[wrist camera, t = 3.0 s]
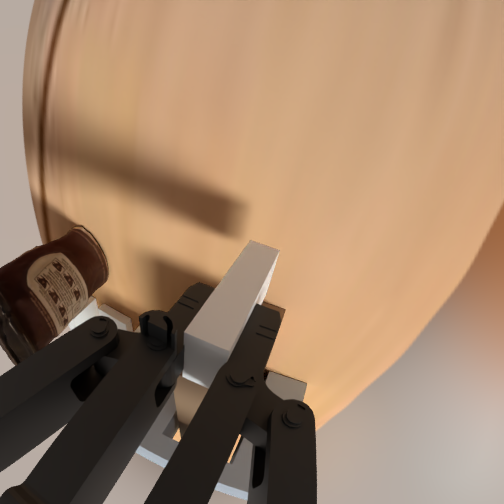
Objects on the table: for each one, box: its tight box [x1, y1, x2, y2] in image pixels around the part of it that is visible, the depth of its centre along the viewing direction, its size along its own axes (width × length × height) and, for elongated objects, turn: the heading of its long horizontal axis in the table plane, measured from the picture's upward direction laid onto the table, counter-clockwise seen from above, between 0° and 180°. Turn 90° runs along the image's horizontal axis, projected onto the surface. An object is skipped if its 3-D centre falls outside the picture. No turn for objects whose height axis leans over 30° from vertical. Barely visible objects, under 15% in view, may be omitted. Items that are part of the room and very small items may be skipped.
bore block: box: [136, 371, 307, 500], centre depth 20 cm, size 5×13×11 cm, turn 78°
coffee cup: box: [0, 227, 109, 366], centre depth 19 cm, size 9×8×13 cm
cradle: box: [68, 296, 141, 332], centre depth 28 cm, size 13×10×4 cm
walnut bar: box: [174, 302, 285, 438], centre depth 20 cm, size 14×4×8 cm, turn 170°
